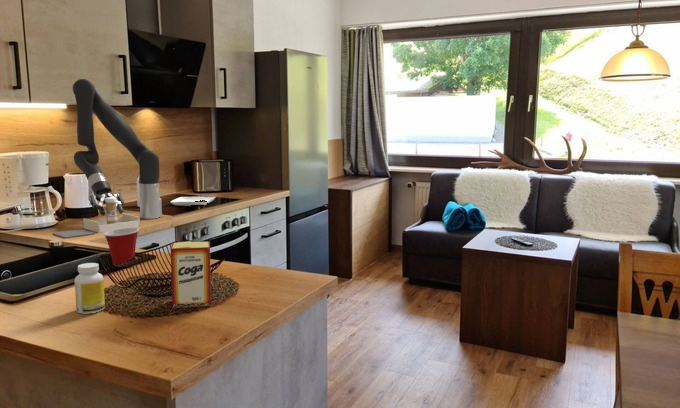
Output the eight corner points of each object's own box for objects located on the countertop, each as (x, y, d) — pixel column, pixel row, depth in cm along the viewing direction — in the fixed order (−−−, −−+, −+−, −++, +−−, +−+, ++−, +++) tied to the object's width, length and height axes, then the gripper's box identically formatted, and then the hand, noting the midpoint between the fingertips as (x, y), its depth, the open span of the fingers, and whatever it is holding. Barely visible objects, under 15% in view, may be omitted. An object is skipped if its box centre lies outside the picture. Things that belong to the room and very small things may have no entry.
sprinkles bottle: (111, 228, 234) (109, 198, 232) (104, 227, 236) (102, 197, 234) (120, 227, 238) (118, 197, 236) (113, 226, 240) (111, 196, 238)
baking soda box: (211, 298, 143) (209, 240, 140) (211, 306, 136) (209, 245, 134) (174, 300, 140) (172, 241, 138) (172, 308, 134) (170, 247, 132)
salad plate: (169, 206, 300) (169, 200, 300) (181, 201, 321) (180, 196, 321) (206, 207, 300) (206, 201, 300) (215, 202, 321) (215, 196, 321)
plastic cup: (111, 262, 178) (109, 226, 177) (144, 261, 179) (142, 226, 178) (99, 270, 168) (97, 233, 166) (135, 270, 169) (133, 233, 167)
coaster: (82, 230, 230) (81, 229, 230) (94, 234, 222) (94, 232, 222) (52, 234, 221) (52, 232, 221) (65, 238, 213) (65, 237, 213)
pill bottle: (109, 310, 132) (107, 265, 131) (83, 317, 128) (80, 270, 126) (98, 304, 137) (95, 260, 135) (72, 310, 132) (69, 265, 130)
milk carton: (149, 207, 295) (147, 173, 292) (137, 207, 296) (136, 173, 293) (155, 205, 302) (154, 172, 299) (144, 205, 303) (143, 172, 300)
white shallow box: (124, 222, 249) (124, 213, 248) (140, 226, 240) (139, 216, 239) (83, 228, 234) (83, 218, 234) (98, 232, 225) (98, 222, 225)
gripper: (85, 181, 233) (99, 210, 228) (117, 178, 244) (131, 206, 238) (81, 191, 238) (94, 220, 232) (112, 189, 248) (125, 216, 243)
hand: (113, 213), depth 235 cm, fingers open, 7 cm apart
